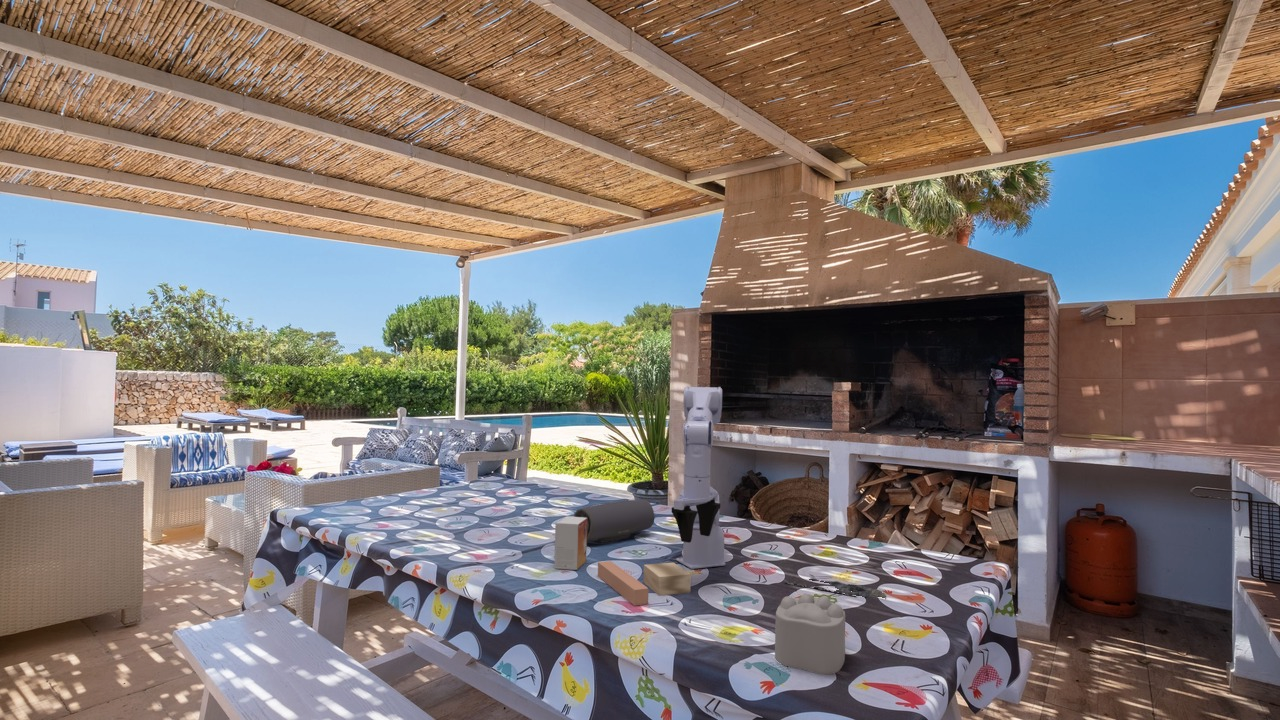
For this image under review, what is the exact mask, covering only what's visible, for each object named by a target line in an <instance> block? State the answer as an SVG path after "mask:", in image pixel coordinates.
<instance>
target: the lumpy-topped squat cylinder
mask: <svg viewBox="0 0 1280 720" xmlns="http://www.w3.org/2000/svg"><path fill="white" fill-rule="evenodd" d="M774 630H775V632H774V634H775V635H774V660H775V659H776V660H777V661H778V662H779V663H781V664H783V665H785V666H784V667H787V666H788V668H791V667H792V669H800V670H804V671H809V672H812V673H815V674H820V675H831V674H835V673H838V672H839V671H840V670H841V669H842V667H843V666H844V664H845V659H846V611H845V610H844V609H843V607H842V606H840V605H839V604H837V603H834V602H832V601H831V600H830V599H829V597H827V596H825V595H823V596H820V597H814V596H813V595H812V594H810V593H804V594H802V595H801V596H800V597H795V598H794V597H793V596H789V595H787V596H784V597H783V598H782V599H781V602H780V604H779V605H778V607H777V609H776V612H775V628H774ZM776 660H775V661H776ZM777 661H776V662H777ZM778 662H777V663H778ZM779 663H778V664H779ZM781 664H780V665H781ZM783 665H782V666H783Z"/></svg>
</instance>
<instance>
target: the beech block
mask: <svg viewBox="0 0 1280 720" xmlns="http://www.w3.org/2000/svg"><path fill="white" fill-rule="evenodd" d="M691 576H692V575H691V573H689V572H688V571H686V570H685V569H684V568H682V567H681V566H680V565H678V564H676V563H675V562H662V563H651V564H650V563H649V564H643V583H644V585H645V586H646V587H647V588H650V589H651V590H652V591H653V592H654V593H655V594H656V595H657V596H669V595H679V594H689V593H690V594H691V585H692V584H691V582H692V581H691V578H692V577H691Z"/></svg>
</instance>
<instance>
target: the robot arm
mask: <svg viewBox="0 0 1280 720" xmlns="http://www.w3.org/2000/svg"><path fill="white" fill-rule="evenodd" d="M682 403H683V410H684V411H683V412H684V413H683V415H684V418H685V421H686V422H683V425H682V443H683V455H684V460H683V461H684V463H683V464H684V467H683V469H684V470H683V489H681V490H680V492H679V497H678V498H676V499H674V500H673V503H674V504H673V506H672V507H671V513H672V515H673V517H674V519H675V522H676V524H677V528H678V531H679V537H680V541H681V542H683V543H682V544H683V546H682V547H683V548H682V557H677V558H676V559H675V561H677V562H679V563H680V564H682V565H683V566H685V567H687V568H688V569H691V570H694V569H695V570H696V569H703V568H712V567H714V568H715V567H723V566H726V562H725V534H724V530H723V528H722V527H721V526H720V525H719V524H720V509H721V503H720V494H719V492H718V491H717V490H716V489H714V487H712V486H711V459H712V458H711V457H712V454H711V453H712V448H713V445H714V425H717V424H719V423H721V418H722V410H723V389H722V388H721V386H718V387H715V386H714V387H709V386H706V387H705V386H688V385H686V386H685V387H684V388H683V401H682Z"/></svg>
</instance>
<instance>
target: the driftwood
mask: <svg viewBox="0 0 1280 720" xmlns="http://www.w3.org/2000/svg"><path fill="white" fill-rule="evenodd" d="M808 579H809V580H812V581H819V580H820V579H817V578H813V577H811V578H808ZM824 581H825V582H824ZM783 582H784V583H787V585H792V586H795V585H794V584H793V583H794V582H790V581H789V580H788V579H783ZM789 582H790V583H789ZM820 582H824V583H829V584H830V585H832V586H835V588H837V589H839V590H836V591H834V592H839V593H845V595H844V596H849V595H856V596H862V597H866V598H868V597H873V596H874V597H882V598H885V599H886V593H885V592H883V591H882V590H881V589H876V588H871V587H865V586H861V585H858V584H855V583H853V584H852V583H851V584H850V583H849V584H848V583H847V584H846V583H844V582H840V581H836V580H829V581H828V580H821V581H820ZM804 585H805V587H804V586H803V585H801V583H798V584H797V585H796V586H798V587H803V588H807V587H811V585H807V584H804ZM813 587H814V588H818V589H817V590H821V591H825V590H827V589H826V588H824V587H822V586H819V585H818V586H817V585H816V586H813ZM824 589H825V590H824ZM851 591H852V592H851ZM834 592H833V593H834ZM882 592H883V593H882Z"/></svg>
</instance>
